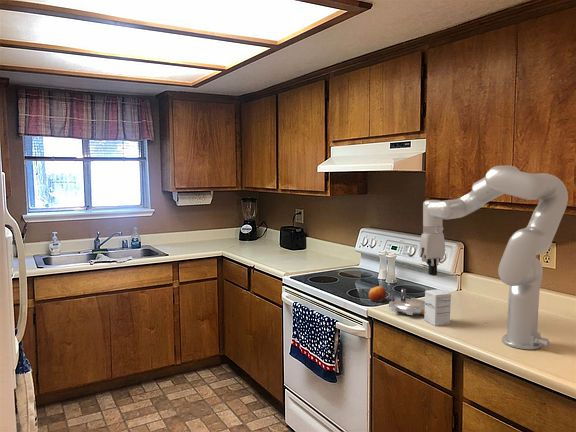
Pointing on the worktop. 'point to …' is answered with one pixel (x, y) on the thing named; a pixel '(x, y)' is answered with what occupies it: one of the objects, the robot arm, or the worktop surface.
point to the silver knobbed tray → (408, 305)
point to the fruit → (377, 294)
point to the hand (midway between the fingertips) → (432, 274)
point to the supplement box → (437, 307)
